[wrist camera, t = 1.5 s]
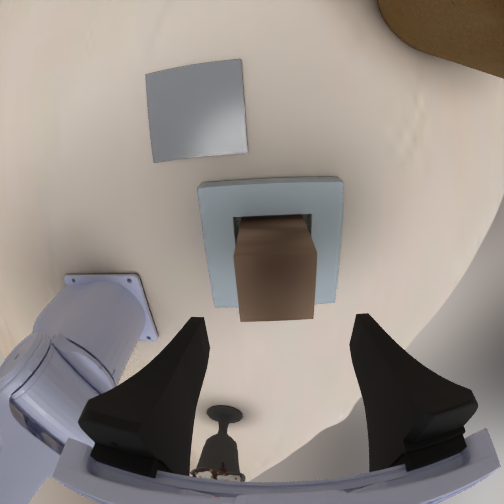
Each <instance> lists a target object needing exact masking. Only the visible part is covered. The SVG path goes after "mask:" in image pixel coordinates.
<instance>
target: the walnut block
mask: <svg viewBox="0 0 504 504" xmlns="http://www.w3.org/2000/svg"><path fill="white" fill-rule="evenodd" d="M233 259H234V268H235V277H236V287H237V296H238V305H239V313H240V322H252V321H281V320H301V319H313V316H314V303H315V289H316V273H317V251H316V248H315V246H314V243H313V241H312V238H311V235H310V233H309V230H308V228H307V225H306V223H305V220H304V218H303V215H302V214H290V215H265V216H244V217H242V218H241V223H240V228H239V232H238V237H237V242H236V246H235V251H234V256H233Z"/></svg>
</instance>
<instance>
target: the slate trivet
mask: <svg viewBox="0 0 504 504" xmlns="http://www.w3.org/2000/svg"><path fill="white" fill-rule="evenodd" d="M145 76H146V92H147V106H148V117H149V127H150V137H151V145H152V154H153V161H154V163H156V162H163V161H171V160H178V159H186V158H195V157H205V156H215V155H226V154H240V153H248V149H247V134H246V120H245V106H244V91H243V77H242V63H241V59H234V60H224V61H215V62H208V63H201V64H194V65H188V66H183V67H177V68H172V69H167V70H163V71H158V72H154V73H150V74H145Z"/></svg>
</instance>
